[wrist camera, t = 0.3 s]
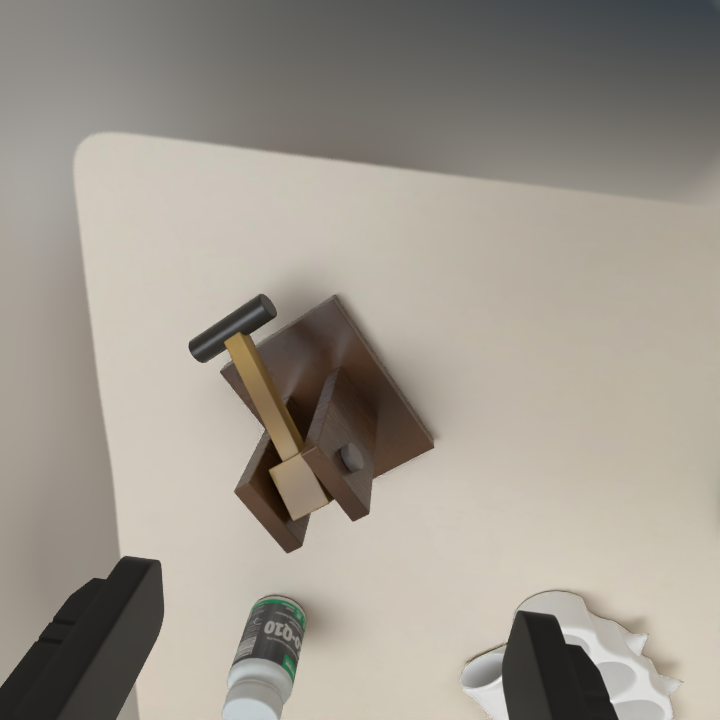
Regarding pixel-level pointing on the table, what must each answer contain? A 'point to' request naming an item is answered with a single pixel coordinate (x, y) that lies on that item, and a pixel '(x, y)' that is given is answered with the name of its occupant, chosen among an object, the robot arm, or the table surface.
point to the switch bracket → (328, 418)
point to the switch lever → (265, 402)
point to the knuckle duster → (604, 647)
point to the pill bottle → (265, 661)
